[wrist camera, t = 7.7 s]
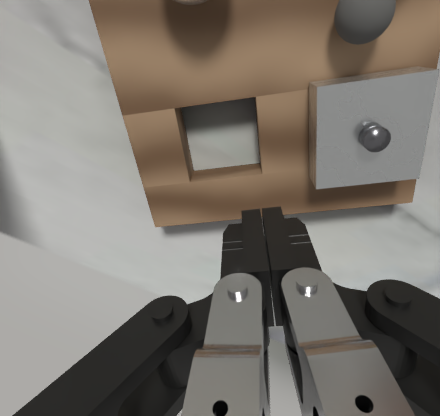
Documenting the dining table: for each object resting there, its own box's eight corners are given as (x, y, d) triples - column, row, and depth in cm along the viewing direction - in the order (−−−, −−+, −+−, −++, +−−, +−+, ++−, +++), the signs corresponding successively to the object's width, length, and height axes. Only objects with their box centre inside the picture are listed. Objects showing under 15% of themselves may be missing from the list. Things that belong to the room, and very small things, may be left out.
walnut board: (79, -85, 19) (59, -101, 17) (453, -170, 17) (485, -202, 14) (161, 213, 30) (155, 227, 27) (398, 189, 27) (412, 202, 25)
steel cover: (309, 82, 21) (320, 89, 18) (418, 66, 20) (449, 70, 17) (309, 176, 24) (319, 195, 21) (402, 165, 23) (426, 184, 20)
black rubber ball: (328, -12, 18) (345, -21, 15) (384, -22, 18) (411, -33, 15) (327, 47, 20) (342, 49, 17) (378, 39, 19) (402, 39, 17)
